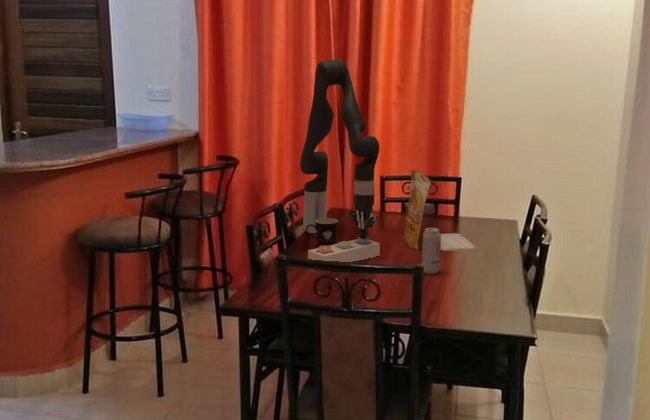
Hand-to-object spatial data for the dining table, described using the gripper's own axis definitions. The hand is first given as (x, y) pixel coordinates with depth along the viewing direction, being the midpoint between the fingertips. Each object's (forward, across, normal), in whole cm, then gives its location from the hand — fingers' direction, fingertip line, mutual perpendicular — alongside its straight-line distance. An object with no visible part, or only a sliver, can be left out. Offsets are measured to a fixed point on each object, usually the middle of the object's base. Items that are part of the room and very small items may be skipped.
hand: (363, 238), depth 249 cm
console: (+7, 0, -9) cm, 11 cm away
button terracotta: (+3, 0, -18) cm, 18 cm away
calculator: (+7, +9, +38) cm, 40 cm away
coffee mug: (+7, -19, -4) cm, 21 cm away
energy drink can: (+7, +28, +6) cm, 29 cm away
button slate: (+3, 0, 0) cm, 3 cm away
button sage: (+3, 0, -9) cm, 9 cm away
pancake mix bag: (+7, +1, +26) cm, 27 cm away
